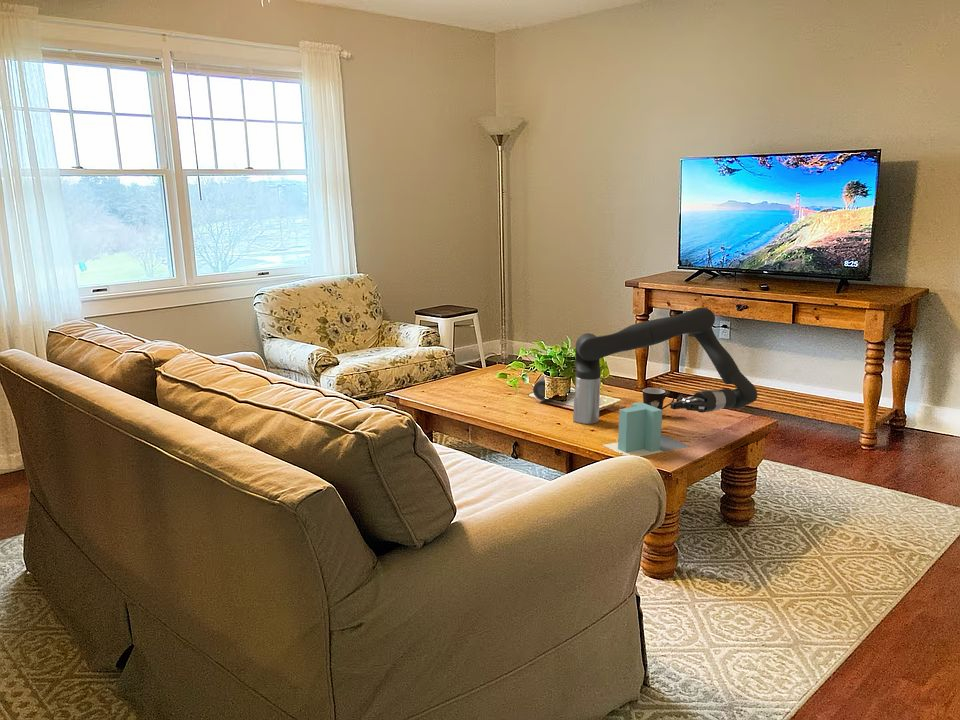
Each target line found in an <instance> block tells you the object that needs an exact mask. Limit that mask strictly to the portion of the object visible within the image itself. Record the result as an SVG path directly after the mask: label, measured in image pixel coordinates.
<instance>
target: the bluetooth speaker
mask: <svg viewBox="0 0 960 720" xmlns="http://www.w3.org/2000/svg"><path fill="white" fill-rule="evenodd" d="M532 392H533V395H534V396H535V398H537V400H540V401H546V400H545V398H544V397H545V380H544V377H543V376H542V377H540V379H538V380H537V381H536V382H535V384H534V385H533V389H532Z"/></svg>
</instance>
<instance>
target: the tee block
mask: <svg viewBox="0 0 960 720" xmlns="http://www.w3.org/2000/svg"><path fill="white" fill-rule="evenodd" d="M618 411H619V413H618V415H619V416H618V435H617V436H618V437H617V439H618V440H617V442H618V449H619V450H621V451H623V452H625V453H626V452H631V451H636V450H641V449H646V450H648V451H650V452H653V451H658V450H660V445H661V434H662V428H663V427H662V423H663V410H661V409H658V408H655V407H653V406H650V405H647V404H645V403H643V401H640V402H638V401H637V402H633V403H631V406H630V407H625V408H620V409H619V410H618Z"/></svg>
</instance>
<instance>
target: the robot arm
mask: <svg viewBox="0 0 960 720" xmlns="http://www.w3.org/2000/svg"><path fill="white" fill-rule="evenodd" d="M715 322H716V315H715V314H714V312H713V311H712V310H711V309H710V308H708V307H697V308H693V309H692V310H688V311H686V312H682V313H679V314H677V315H673V316H668V317H667V316H665V317H661V318H656V319H655V318H654V319H650V320H646V321H642V322H636V323H634V324H631V325H629V326H627V327H624V328H623V329H621V330H619V331H617V332H613V333H611V334H607V335H606V334H605V335H600V336H596V335H595V334H593V333H589V332H588V333H587V332H586V333H583V334H581V335H580V336H579V337H578V338H577V340H576V342H575V351H574V352H575V353H574V355H575V356H574V359H575V362H574V363H575V364H574V367H575V391H574V393H575V394H574V398H573V414H572V415H573V418H572V419H573V422H575V423H578V424H587V425H590V424H591V425H593V424H597V423H598V422H599V420H600V418H599V417H600V400H601V399H600V398H601V397H600V395H601V371H602V370H601V365H600V362H601V360H600V359H603V358H605V357H608V356H612V355H614V354H616V353H622V352H627V351H633V350H637V349H641V348H646V347H651V346H654V345H655V346H656V345H657V344H660V343H663V342H666V341H669V340H670V339H672V338H675V337H678V336H682V335H686V334H691V335H692V336H693V337H694V338H695V339H696V340H697V341H698V344H700V346H701V347H702V348H703V350H704V351H705V353H706V355H707V356H708V358H709V359H710V361H711V362H712V365H713V366H714V368H715V369H716V371H717V373H718V376H719V377H720V378H721V380H722V382H723V383H724V384H725V385H733V386H734V387H736V388H735V389H730V388H722V389H708V390H701V391H697V392H695V393H694V394H693V395H692V396H688V397H683V396H682V395H679V396H678V397H677V398H676V401H674V402H672V401H671V402H672V403H671V402H670V403H671V405H669V406H670V409H672V410H680V409H681V410H686V411H693V412H698V413H702V414H703V413H708V412H709V413H710V412H716V411H720V410H724V409H740V408H744V407H746V406H748V405H750V404H752V403H754V402H756V401H757V399H758V391H757V388H756V387H755V385H754V384H753V383H752V382H751V381H750V380H749V379H748V378H747V377H746V376H745V375H744V374H743V373H742V372H741V370H740V369H739V366H738V365H737V363H736V361H735V360H734V358H733V356H731V354H730V353H729V352H728V350H727V349H726V348H725V347H724V346H723V345H722V344H721V342H720V340H719V339H718V338H717V336H716V334H715V332H714V329H713V327H714V325H715Z"/></svg>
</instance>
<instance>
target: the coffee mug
mask: <svg viewBox="0 0 960 720" xmlns="http://www.w3.org/2000/svg"><path fill="white" fill-rule="evenodd" d="M668 396H670V397H672V400H671V401H670V402H669V403H668V404H666V405H664V402H665V399H666V397H668ZM672 402H675V396H674V395H673V394H671V393H668V394H666V390H665V389H662V388H657V387H648V388H647V387H646V388H644V389H642V403H645V404H647V405H650V406H653V407H655V408H658V409H661V410H662V411H663V410H664V409H666V408H667V407H669V406H671V403H672Z"/></svg>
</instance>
